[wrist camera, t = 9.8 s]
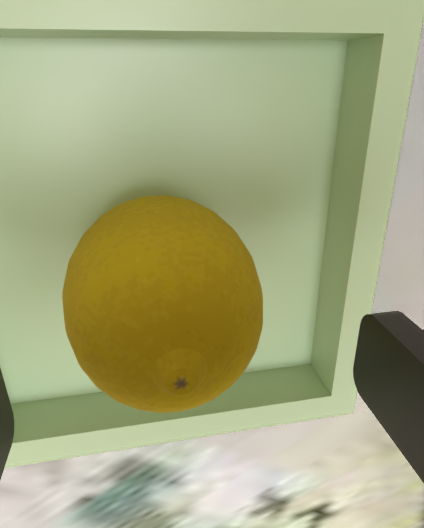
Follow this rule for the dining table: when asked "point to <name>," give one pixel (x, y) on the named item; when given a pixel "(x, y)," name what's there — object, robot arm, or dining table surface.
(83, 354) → the lemon
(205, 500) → the dining table surface
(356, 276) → the tray
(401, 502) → the dining table surface
